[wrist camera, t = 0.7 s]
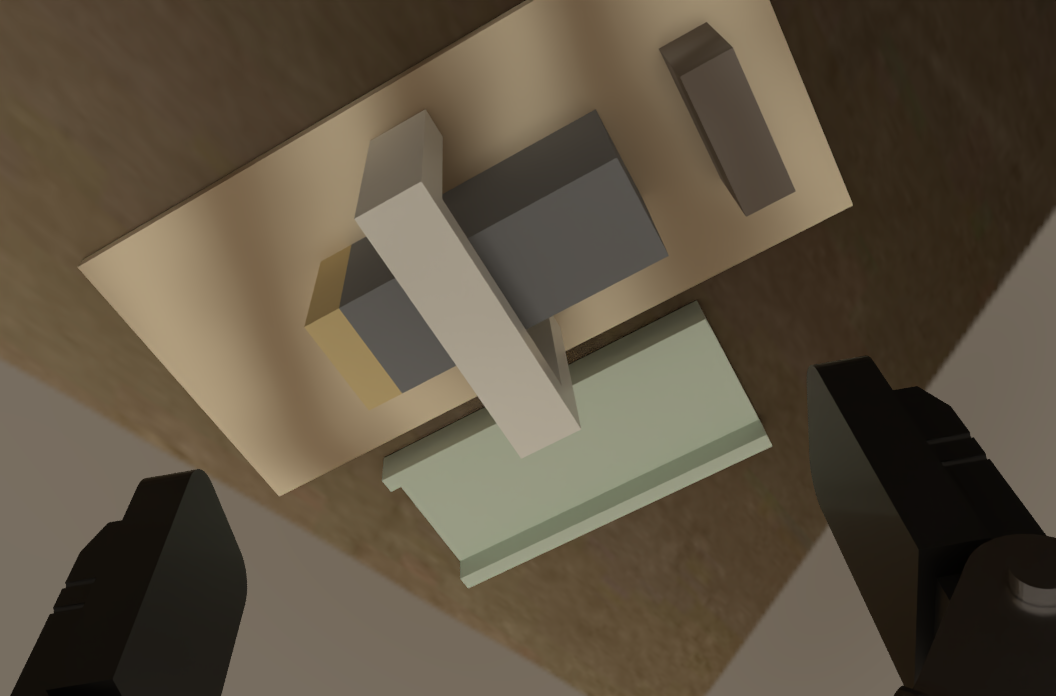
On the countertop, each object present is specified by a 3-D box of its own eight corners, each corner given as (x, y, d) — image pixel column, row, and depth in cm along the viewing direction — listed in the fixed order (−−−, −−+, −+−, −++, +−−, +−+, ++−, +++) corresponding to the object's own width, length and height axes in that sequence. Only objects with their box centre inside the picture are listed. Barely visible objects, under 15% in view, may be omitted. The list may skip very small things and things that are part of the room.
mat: (696, 300, 36) (705, 318, 35) (762, 424, 39) (772, 446, 37) (384, 457, 38) (382, 480, 37) (467, 564, 41) (468, 588, 40)
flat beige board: (719, -113, 29) (754, -98, 26) (846, 198, 34) (889, 244, 31) (83, 259, 33) (43, 313, 30) (281, 486, 38) (266, 553, 35)
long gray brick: (595, 109, 31) (617, 157, 28) (642, 198, 33) (668, 255, 29) (320, 261, 33) (304, 327, 29) (377, 339, 35) (368, 410, 31)
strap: (425, 109, 31) (421, 181, 25) (560, 327, 35) (581, 429, 29) (370, 141, 31) (354, 218, 26) (509, 353, 35) (521, 458, 30)
